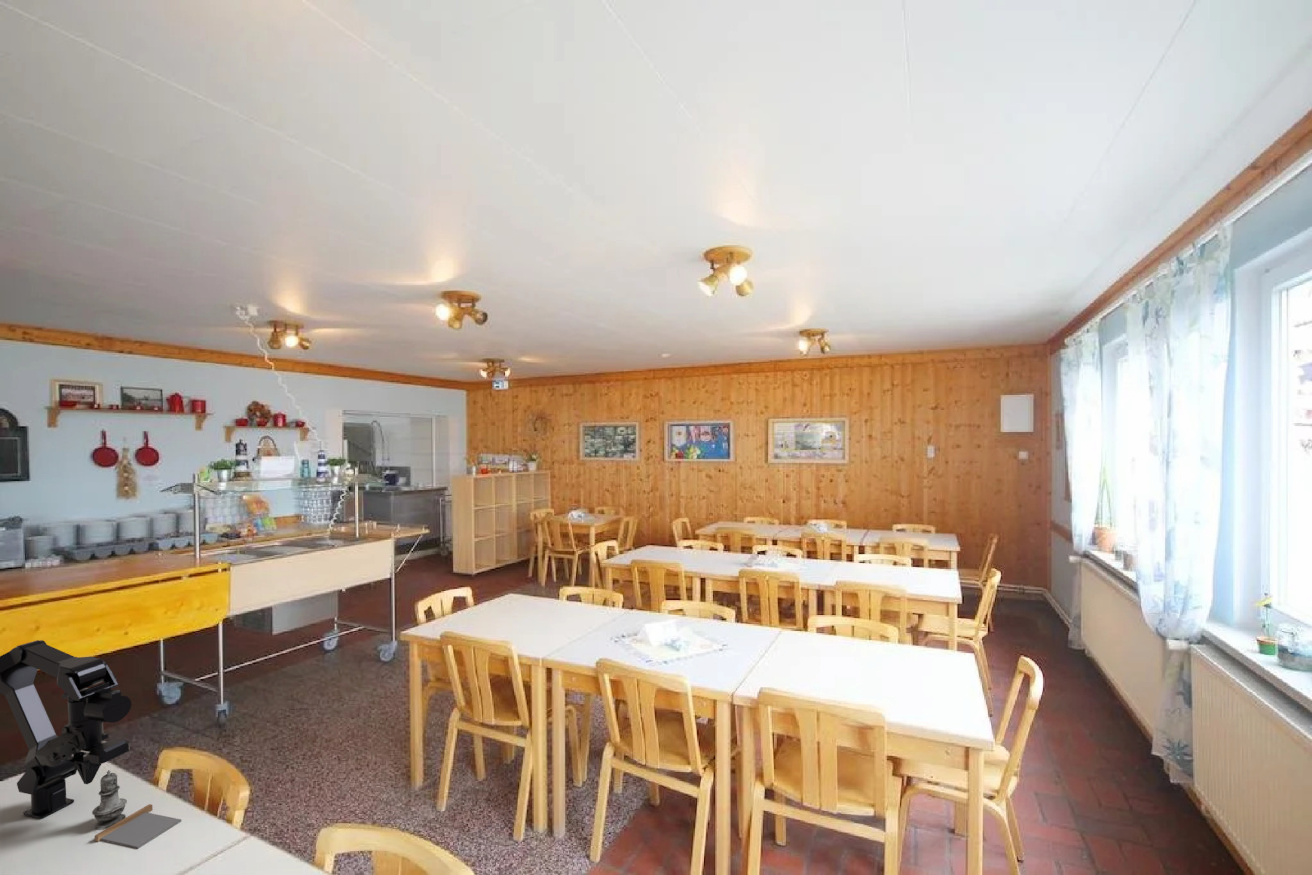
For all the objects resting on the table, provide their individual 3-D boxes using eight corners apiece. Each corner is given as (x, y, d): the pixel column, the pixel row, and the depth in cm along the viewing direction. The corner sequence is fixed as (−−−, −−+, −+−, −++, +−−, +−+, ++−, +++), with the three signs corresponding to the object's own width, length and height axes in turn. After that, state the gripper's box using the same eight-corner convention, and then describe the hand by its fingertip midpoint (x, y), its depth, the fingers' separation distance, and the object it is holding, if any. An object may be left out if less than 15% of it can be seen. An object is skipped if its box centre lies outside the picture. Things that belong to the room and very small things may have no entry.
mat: (100, 840, 129) (100, 838, 129) (145, 813, 138) (145, 812, 138) (138, 848, 126) (137, 846, 126) (181, 821, 135) (181, 819, 135)
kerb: (94, 840, 129) (94, 835, 129) (149, 809, 139) (149, 804, 139) (98, 841, 129) (97, 836, 129) (152, 809, 139) (152, 804, 139)
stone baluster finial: (106, 832, 132) (104, 779, 131) (85, 828, 133) (83, 776, 133) (134, 814, 137) (132, 764, 137) (114, 812, 139) (112, 761, 138)
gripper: (12, 729, 131) (15, 798, 131) (72, 739, 126) (74, 811, 127) (73, 706, 142) (75, 770, 142) (130, 714, 137) (132, 780, 137)
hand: (88, 783), depth 137 cm, fingers closed
